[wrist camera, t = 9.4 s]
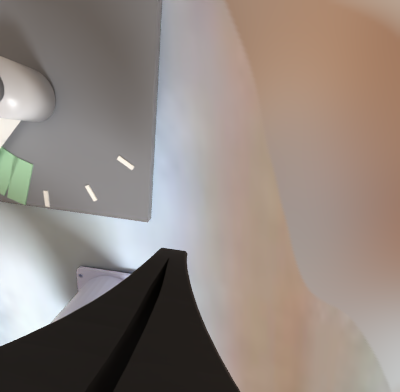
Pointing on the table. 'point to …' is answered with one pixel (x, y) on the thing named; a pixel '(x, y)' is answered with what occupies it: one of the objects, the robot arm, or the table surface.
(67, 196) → the dial base
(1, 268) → the table surface
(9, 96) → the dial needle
